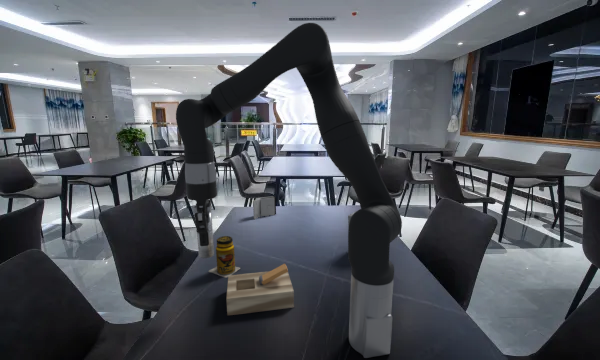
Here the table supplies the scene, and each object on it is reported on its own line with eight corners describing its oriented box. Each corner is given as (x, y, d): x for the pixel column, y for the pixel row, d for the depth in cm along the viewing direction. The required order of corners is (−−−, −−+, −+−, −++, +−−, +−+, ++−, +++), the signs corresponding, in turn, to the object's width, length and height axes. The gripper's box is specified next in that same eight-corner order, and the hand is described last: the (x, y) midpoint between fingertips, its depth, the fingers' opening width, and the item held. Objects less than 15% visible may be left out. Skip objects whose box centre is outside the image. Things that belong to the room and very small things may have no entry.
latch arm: (261, 286, 82) (258, 282, 82) (260, 280, 85) (258, 276, 85) (288, 271, 83) (286, 267, 82) (286, 266, 86) (284, 262, 85)
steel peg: (213, 257, 77) (210, 214, 75) (197, 258, 76) (194, 215, 74) (214, 251, 81) (212, 209, 78) (199, 252, 80) (196, 210, 78)
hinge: (254, 219, 153) (253, 201, 151) (250, 216, 157) (249, 199, 155) (277, 214, 160) (276, 197, 158) (272, 212, 164) (272, 195, 163)
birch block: (293, 307, 80) (293, 291, 79) (227, 315, 77) (226, 298, 76) (287, 284, 92) (287, 269, 91) (229, 290, 88) (228, 275, 87)
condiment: (226, 278, 95) (224, 244, 93) (208, 271, 99) (205, 239, 97) (241, 268, 102) (239, 236, 99) (223, 263, 106) (221, 232, 103)
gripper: (213, 184, 68) (218, 252, 72) (218, 174, 82) (221, 231, 85) (180, 186, 67) (186, 255, 70) (190, 175, 81) (195, 233, 84)
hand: (205, 241), depth 78 cm, fingers closed on steel peg, 4 cm apart
